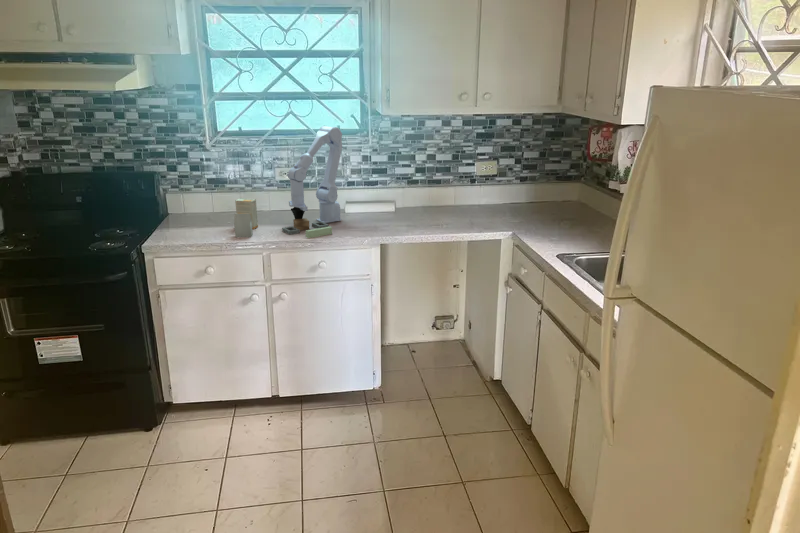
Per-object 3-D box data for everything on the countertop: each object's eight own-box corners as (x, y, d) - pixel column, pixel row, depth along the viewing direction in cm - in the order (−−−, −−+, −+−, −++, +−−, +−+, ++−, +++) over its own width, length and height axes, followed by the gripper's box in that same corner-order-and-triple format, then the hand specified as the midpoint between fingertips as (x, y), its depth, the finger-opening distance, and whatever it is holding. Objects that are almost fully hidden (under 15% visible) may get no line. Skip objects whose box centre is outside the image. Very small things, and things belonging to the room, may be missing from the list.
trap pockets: (321, 224, 281) (321, 218, 280) (339, 232, 269) (339, 225, 268) (282, 231, 270) (281, 224, 269) (299, 239, 257) (299, 233, 256)
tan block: (306, 226, 278) (306, 218, 276) (309, 229, 273) (309, 220, 272) (293, 227, 275) (293, 219, 274) (296, 230, 271) (295, 221, 270)
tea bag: (251, 237, 260) (249, 214, 257) (235, 237, 260) (233, 214, 257) (252, 234, 264) (251, 212, 261) (237, 235, 264) (235, 212, 260)
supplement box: (258, 227, 276) (256, 199, 272) (253, 229, 272) (251, 201, 268) (242, 225, 278) (240, 197, 274) (237, 228, 274) (234, 199, 270)
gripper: (282, 192, 276) (283, 221, 281) (297, 198, 265) (298, 228, 270) (296, 190, 280) (297, 219, 285) (311, 196, 269) (312, 225, 274)
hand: (298, 223), depth 277 cm, fingers closed
